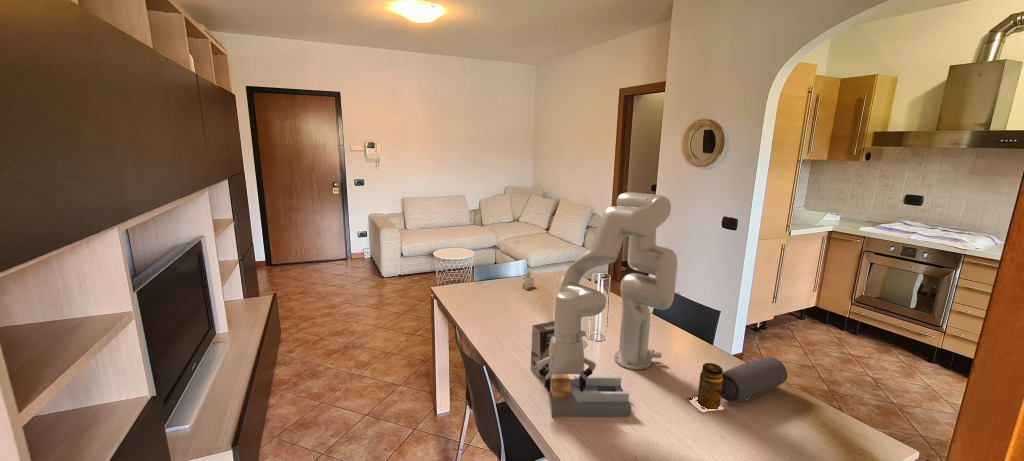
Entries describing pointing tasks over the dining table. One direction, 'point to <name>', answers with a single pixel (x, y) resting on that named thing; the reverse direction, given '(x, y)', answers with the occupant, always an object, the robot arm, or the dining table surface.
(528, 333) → the dining table surface
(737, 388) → the bluetooth speaker
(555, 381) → the block
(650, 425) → the dining table surface
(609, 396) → the trap channel
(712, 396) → the condiment
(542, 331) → the cookie box
